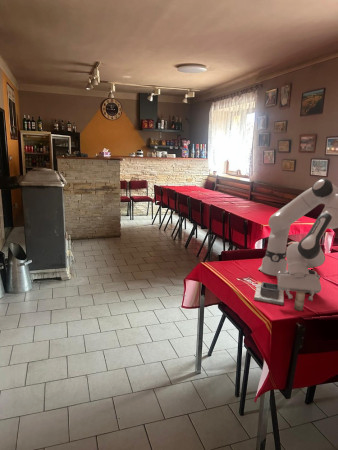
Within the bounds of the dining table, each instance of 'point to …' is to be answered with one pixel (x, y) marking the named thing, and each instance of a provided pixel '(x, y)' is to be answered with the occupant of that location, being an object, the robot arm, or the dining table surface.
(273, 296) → the grey block with recess
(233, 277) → the dining table surface
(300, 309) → the disc
